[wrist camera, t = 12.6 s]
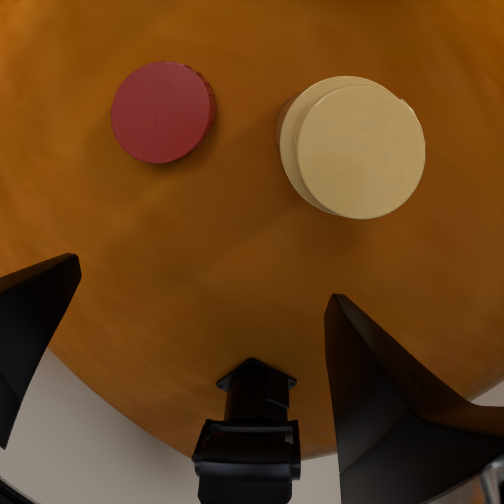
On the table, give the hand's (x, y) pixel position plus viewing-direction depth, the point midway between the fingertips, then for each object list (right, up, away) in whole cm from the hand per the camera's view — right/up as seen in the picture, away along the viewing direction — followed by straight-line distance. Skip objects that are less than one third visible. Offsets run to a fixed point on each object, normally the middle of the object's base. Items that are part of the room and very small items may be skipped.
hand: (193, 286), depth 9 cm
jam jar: (+6, +9, +8) cm, 13 cm away
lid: (-4, +10, +6) cm, 12 cm away
